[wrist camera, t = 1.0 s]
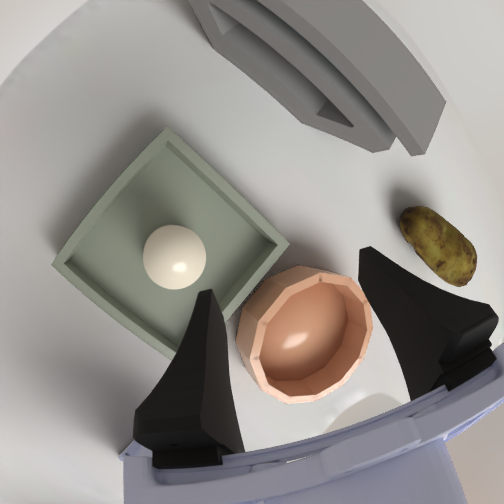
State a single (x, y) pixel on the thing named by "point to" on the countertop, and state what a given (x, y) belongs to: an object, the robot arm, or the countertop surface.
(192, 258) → the cream rounded capsule
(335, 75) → the grey storage case
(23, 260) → the countertop surface
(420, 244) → the potato
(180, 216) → the parts tray
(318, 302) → the bowl
